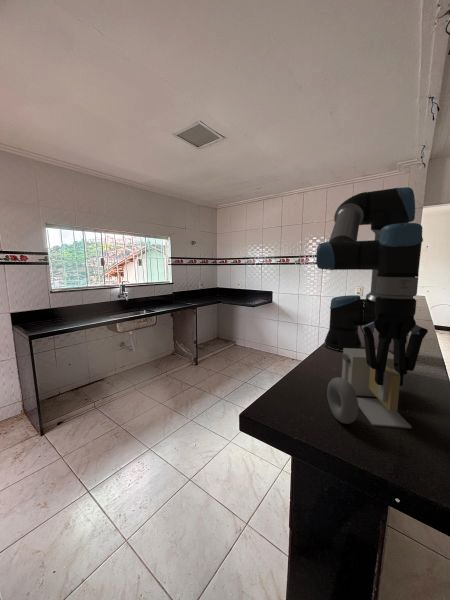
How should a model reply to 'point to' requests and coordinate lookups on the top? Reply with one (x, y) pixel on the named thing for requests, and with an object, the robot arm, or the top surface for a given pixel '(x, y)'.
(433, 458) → the top surface
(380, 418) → the mat
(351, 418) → the donut
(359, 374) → the large beige block
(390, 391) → the yellow rectangular slab
